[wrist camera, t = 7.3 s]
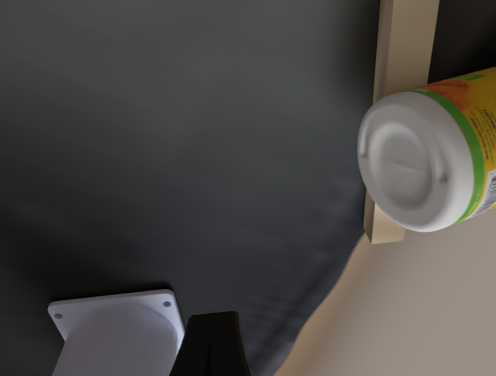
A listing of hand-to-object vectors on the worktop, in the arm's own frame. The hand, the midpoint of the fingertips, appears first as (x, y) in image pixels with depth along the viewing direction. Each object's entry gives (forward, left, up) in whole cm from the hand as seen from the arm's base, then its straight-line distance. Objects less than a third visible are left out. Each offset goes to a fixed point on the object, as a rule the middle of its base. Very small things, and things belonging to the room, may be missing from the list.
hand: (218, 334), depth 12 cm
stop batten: (+1, -9, -10) cm, 14 cm away
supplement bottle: (+2, -7, -5) cm, 9 cm away
